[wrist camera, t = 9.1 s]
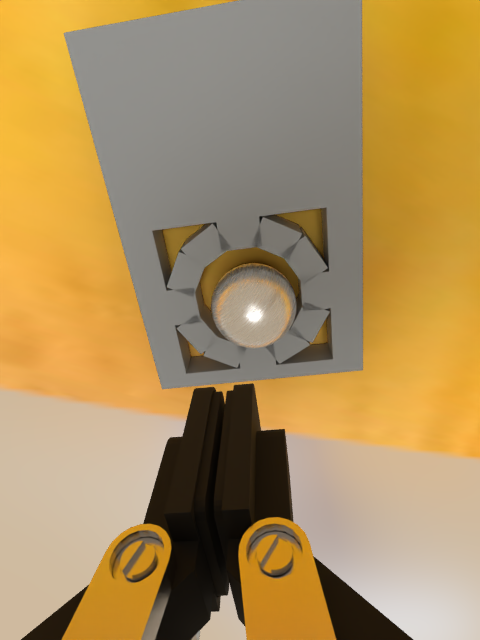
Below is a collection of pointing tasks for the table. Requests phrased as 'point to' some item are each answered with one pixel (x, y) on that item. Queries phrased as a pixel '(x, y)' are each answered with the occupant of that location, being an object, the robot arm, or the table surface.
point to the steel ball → (253, 305)
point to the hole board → (234, 170)
